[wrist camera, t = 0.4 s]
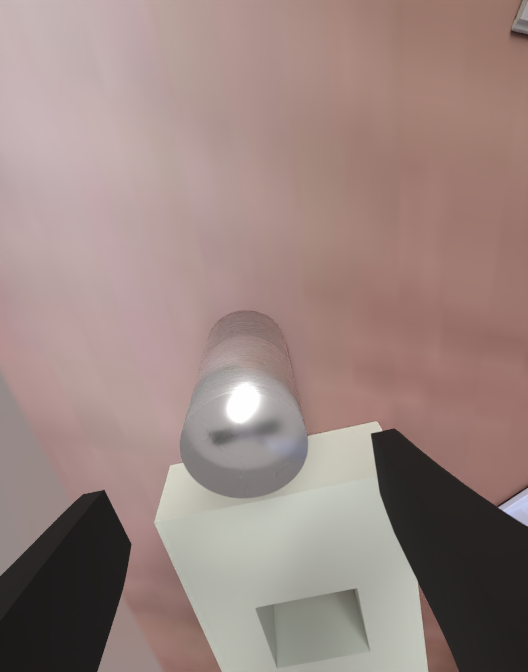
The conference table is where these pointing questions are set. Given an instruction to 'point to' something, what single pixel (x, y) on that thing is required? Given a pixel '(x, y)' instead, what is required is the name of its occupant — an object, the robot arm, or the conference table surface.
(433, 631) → the conference table surface
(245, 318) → the tall pin
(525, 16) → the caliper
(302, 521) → the pin board
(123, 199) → the conference table surface
